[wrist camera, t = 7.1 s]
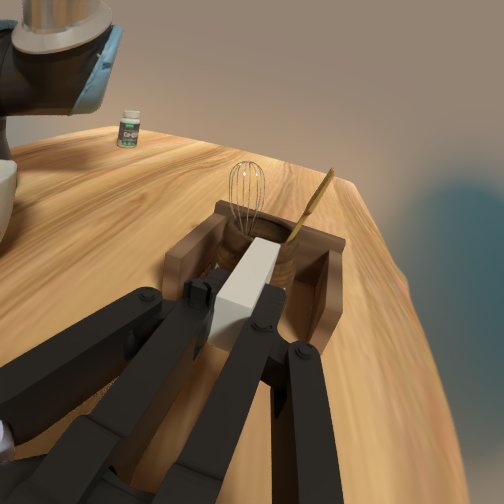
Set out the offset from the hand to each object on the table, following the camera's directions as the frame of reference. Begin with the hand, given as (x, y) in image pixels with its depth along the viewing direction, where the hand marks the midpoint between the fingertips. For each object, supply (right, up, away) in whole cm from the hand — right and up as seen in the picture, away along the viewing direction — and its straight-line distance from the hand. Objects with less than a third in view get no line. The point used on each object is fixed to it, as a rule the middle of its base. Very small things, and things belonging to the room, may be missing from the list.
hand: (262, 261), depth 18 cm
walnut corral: (0, -3, +7) cm, 8 cm away
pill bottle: (-30, +25, +47) cm, 61 cm away
